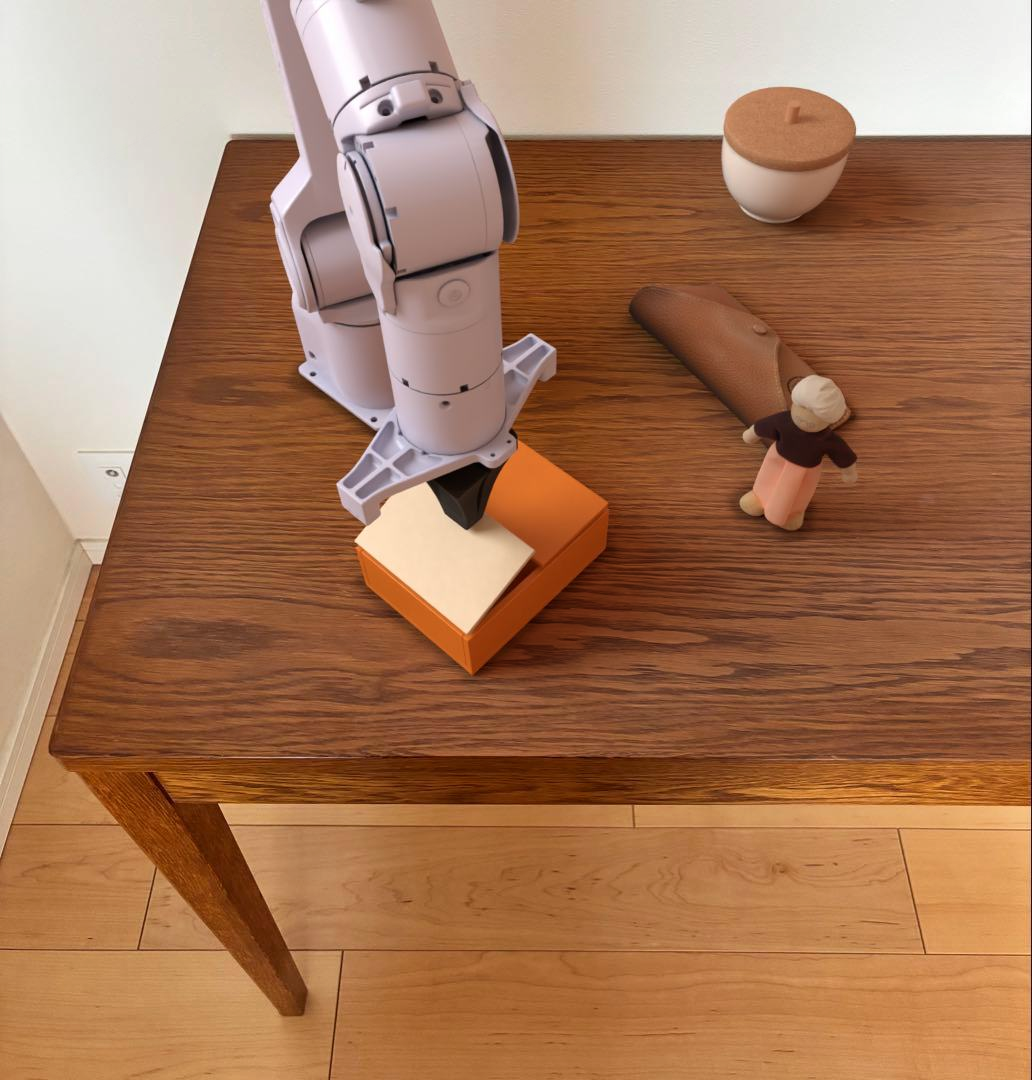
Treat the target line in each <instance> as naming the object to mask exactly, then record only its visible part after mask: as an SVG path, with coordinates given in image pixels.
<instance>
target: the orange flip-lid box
mask: <svg viewBox="0 0 1032 1080" xmlns="http://www.w3.org/2000/svg"><path fill="white" fill-rule="evenodd" d="M609 505H610V502H608V501H607V500H606V499H605V498H603V497H601V496H600V495H599V494H597V493H595V492H594V491H593V490H591V489H590V488H588V487H586V486H585V484H583V483H581V482H580V481H578V480H577V479H575V478H574V477H572V476H571V475H570V474H568V473H567V472H565V471H564V470H562V469H561V468H560V467H558V466H557V465H556V464H554V463H553V462H551V461H550V460H549V459H547V458H545V457H544V456H542V455H541V454H540V453H538V452H537V451H535V450H534V449H532V448H531V447H529V446H528V445H527V444H525V443H524V442H522V441H521V440H520V439H518V449H517V450H516V452H515V453H514V454H513V455H512V456H511V457H510V458H509V459H508V461H507V462H506V463H505V465H504V466H503V468H502V470H501V471H500V473H499V475H498V477H497V479H496V481H495V483H494V486H493V488H492V491H491V494H490V496H489V500H488V503H487V506H486V509H485V513H486V514H487V515H489V516H490V517H491V518H493V519H494V520H495V521H497V522H498V523H499V524H501V525H502V526H503V527H505V528H506V529H507V530H509V531H510V532H511V533H513V534H514V535H515V536H517V537H518V538H519V539H521V540H522V541H523V542H525V543H526V544H527V545H529V546H530V547H531V548H533V549H534V550H535V551H536V552H535V553H534V554H533V556H532V557H531V558H530V559H529V561H528V562H527V563H526V564H525V566H524V567H523V568H522V569H521V571H520V572H519V573H518V574H517V576H516V577H515V578H514V579H513V581H512V582H511V583H510V584H509V586H508V587H507V588H506V589H505V591H504V592H503V593H502V594H501V596H500V597H499V598H498V599H497V601H496V602H495V603H494V604H493V606H492V607H491V608H490V609H489V611H488V612H487V613H486V614H485V616H484V617H483V618H482V619H481V621H480V622H479V623H478V624H477V626H476V627H475V628H474V629H473V631H472V632H471V633H470V634H469V635H467V634H466V633H464V632H463V631H462V630H461V629H460V628H458V627H457V626H456V625H455V624H453V623H452V622H451V621H450V620H449V619H447V618H446V617H445V616H444V615H443V614H441V613H440V612H439V611H438V610H437V609H435V608H434V607H433V606H432V605H431V604H429V603H428V602H427V601H426V600H425V599H423V598H422V597H421V596H420V595H419V594H417V593H416V592H415V591H414V590H413V589H411V588H410V587H409V586H408V585H406V584H405V583H404V582H403V581H402V580H400V579H399V578H398V577H397V576H396V575H394V574H393V573H392V572H391V571H390V570H388V569H387V568H386V567H385V566H384V565H382V564H381V563H380V562H379V561H378V560H376V559H375V558H374V557H373V556H372V555H370V554H369V553H368V552H367V551H366V550H364V549H363V548H362V547H361V546H360V545H358V544H357V546H355V551H356V554H357V558H358V561H359V565H360V567H361V568H360V569H361V572H362V576H363V579H364V583H365V586H366V587H368V589H370V590H371V591H372V592H374V593H375V594H376V595H377V596H378V597H379V598H381V600H383V601H384V602H385V603H386V604H388V606H390V607H391V608H392V609H394V610H395V611H396V612H397V613H398V614H399V615H401V616H402V618H404V619H405V620H406V621H408V622H409V623H410V624H411V625H412V626H413V627H415V628H416V629H417V630H418V631H420V632H421V633H422V634H423V635H424V636H425V637H426V638H428V639H429V640H430V641H431V642H432V643H434V644H435V645H436V646H437V647H438V648H440V649H441V650H442V651H443V652H444V653H445V654H446V655H447V656H449V657H450V658H451V659H452V660H454V661H455V662H456V663H457V664H458V665H460V667H462V668H463V669H464V670H465V671H466V672H468V673H469V674H470V675H471V676H474V675H475V674H476V673H477V672H478V671H479V670H480V669H481V668H482V667H484V665H485V664H486V663H487V662H488V661H490V659H492V658H493V657H494V656H495V655H496V654H497V653H498V652H499V651H500V650H501V649H502V648H503V647H505V645H506V644H507V643H508V642H510V640H512V638H514V637H515V636H516V635H517V634H518V633H519V632H520V631H521V630H522V629H524V627H525V626H527V625H528V624H529V622H530V621H531V620H533V619H534V618H535V617H536V616H537V615H538V614H539V613H540V612H541V611H542V610H543V609H544V608H545V607H546V606H547V605H548V604H549V603H550V602H551V601H552V600H554V599H555V597H557V595H559V594H560V593H561V592H562V591H563V590H564V589H565V588H567V586H568V585H569V584H570V583H571V582H572V581H573V580H575V579H576V577H578V575H580V574H581V573H582V572H583V571H584V570H585V569H586V568H587V567H588V566H589V565H590V564H591V563H592V562H594V561H595V559H596V558H597V557H598V556H599V555H601V553H603V552H604V551H605V550H606V549H607V539H608V529H609V528H608V527H609V517H610V509H609V508H608V507H609Z"/></svg>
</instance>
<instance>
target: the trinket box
mask: <svg viewBox="0 0 1032 1080" xmlns="http://www.w3.org/2000/svg"><path fill="white" fill-rule="evenodd" d="M722 131H723V134H722V135H723V136H722V141H721V142H722V143H721V152H720V155H721V156H720V157H721V158H720V160H721V171H722V178H723V180H724V184H725V186H726V189H727V190H728V192H729V194H730V196H731V197H732V198H733V200H734V201H735V202H736V203H737V205H738V206H739V207H740V209H741V211H743V212H744V214H746V215H747V216H749V217H750V218H752V219H754V220H757V221H759V222H762V223H769V224H784V223H785V224H786V223H791V222H792V221H796V220H797V219H799V218H800V217H801V216H803V215H805V214H807V213H808V212H810V211H812V210H814V209H815V208H817V207H818V206H819V205H821V204H822V203H823V202H824V201H825V200H826V199H827V198H828V197H829V195H830V194H831V193H832V191H833V190H834V189H835V187H836V185H837V183H838V181H840V178H841V176H842V174H843V172H844V169H845V166H846V164H847V160H848V157H849V155H850V151H851V150H852V148H853V146H854V145H853V144H854V142H855V138H856V135H857V125H856V121H855V120H854V117H853V115H852V114H851V112H850V111H849V110H848V109H847V108H846V107H845V106H844V105H843V104H842V103H841V102H839V101H837V100H836V99H834V98H833V97H830V96H828V95H827V94H824V93H821V92H818V91H816V90H811V89H808V88H803V87H795V86H770V87H769V86H768V87H764V88H759V89H756V90H752V91H750V92H748V93H745V94H743V95H741V96H740V97H738V98H737V99H735V101H734V102H733V103H732V104H730V106H728V108H727V110H726V112H725V115H724V120H723V130H722Z"/></svg>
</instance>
